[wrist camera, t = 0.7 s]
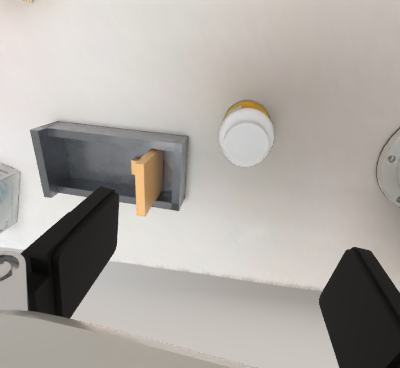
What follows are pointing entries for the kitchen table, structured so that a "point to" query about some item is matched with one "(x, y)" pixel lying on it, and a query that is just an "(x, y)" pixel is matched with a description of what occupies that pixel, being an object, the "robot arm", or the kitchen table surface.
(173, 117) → the kitchen table surface
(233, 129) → the supplement bottle
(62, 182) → the grey rectangular tray
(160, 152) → the block
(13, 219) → the skincare box
